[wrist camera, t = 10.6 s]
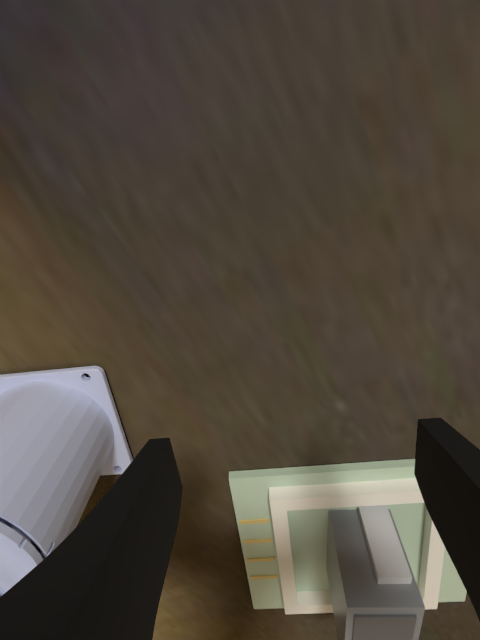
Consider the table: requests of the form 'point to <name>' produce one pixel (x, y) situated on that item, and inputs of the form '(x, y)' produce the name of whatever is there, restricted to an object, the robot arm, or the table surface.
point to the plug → (371, 577)
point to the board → (312, 528)
